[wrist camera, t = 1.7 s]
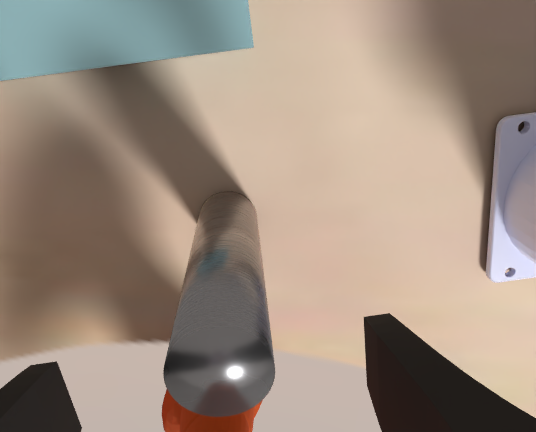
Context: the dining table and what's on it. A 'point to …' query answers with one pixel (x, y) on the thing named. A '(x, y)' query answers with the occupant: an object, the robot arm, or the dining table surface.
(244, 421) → the toy drill
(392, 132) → the dining table surface
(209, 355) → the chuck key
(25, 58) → the block
